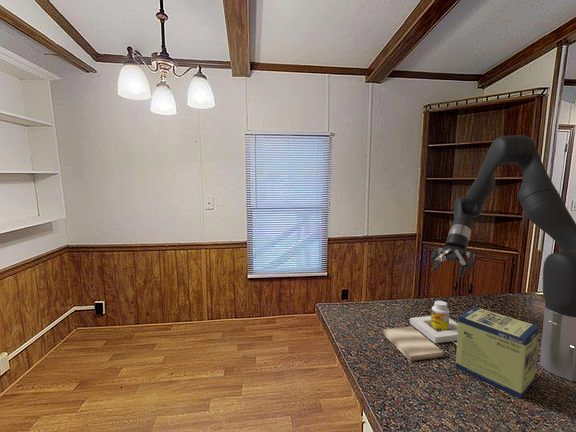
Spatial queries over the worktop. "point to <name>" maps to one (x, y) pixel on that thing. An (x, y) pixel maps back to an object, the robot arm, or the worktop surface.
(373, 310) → the worktop surface
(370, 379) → the worktop surface
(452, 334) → the collar stand
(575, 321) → the robot arm
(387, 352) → the worktop surface
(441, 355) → the birch board
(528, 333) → the protein box
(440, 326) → the supplement bottle
